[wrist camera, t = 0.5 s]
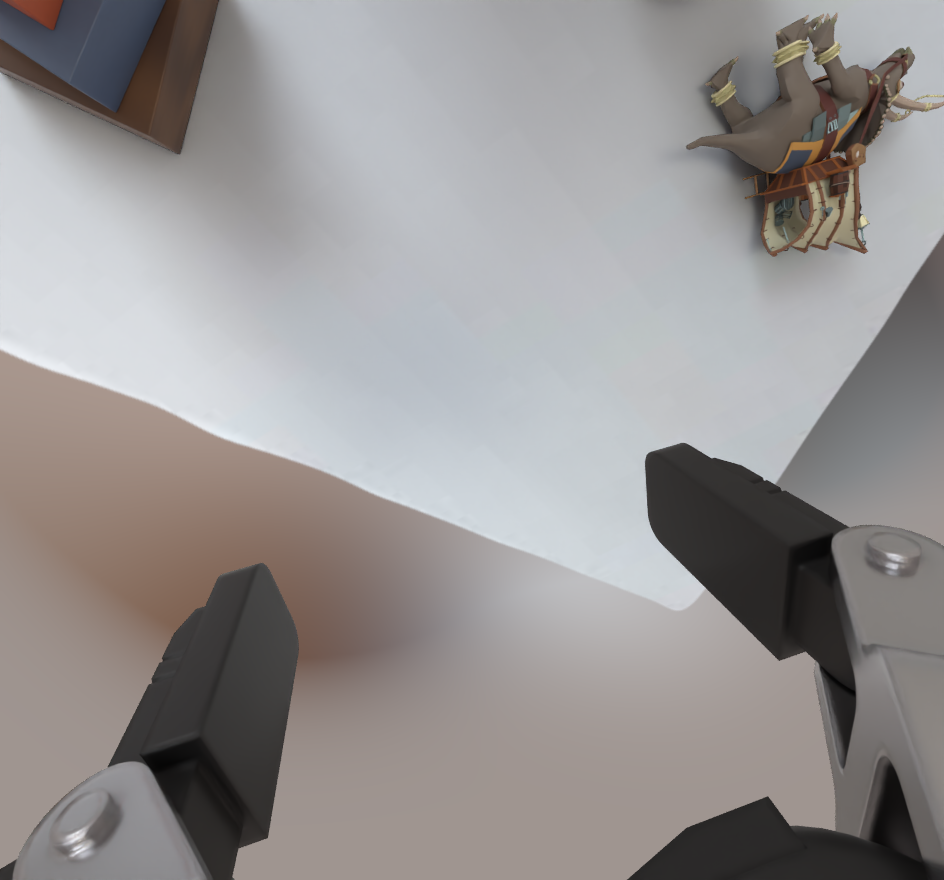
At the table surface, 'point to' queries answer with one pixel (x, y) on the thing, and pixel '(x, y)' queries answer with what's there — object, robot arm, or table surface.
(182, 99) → the base block
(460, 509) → the table surface
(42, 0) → the top block
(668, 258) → the table surface
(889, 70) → the figurine
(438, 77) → the table surface
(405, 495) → the table surface
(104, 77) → the middle block
